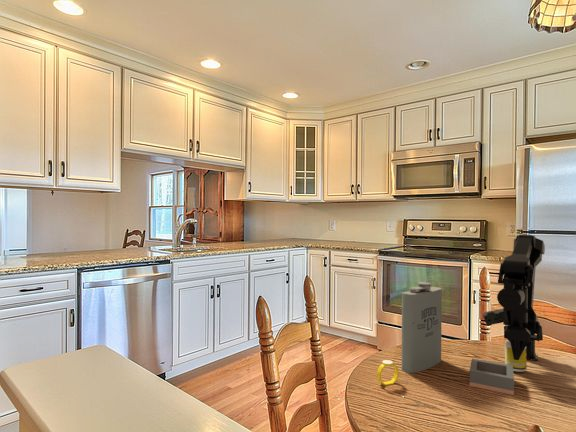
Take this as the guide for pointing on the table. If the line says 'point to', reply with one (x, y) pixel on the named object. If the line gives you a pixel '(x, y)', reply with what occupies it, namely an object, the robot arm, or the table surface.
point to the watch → (384, 364)
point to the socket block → (492, 376)
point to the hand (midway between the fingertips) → (515, 356)
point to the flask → (421, 327)
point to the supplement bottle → (517, 364)
